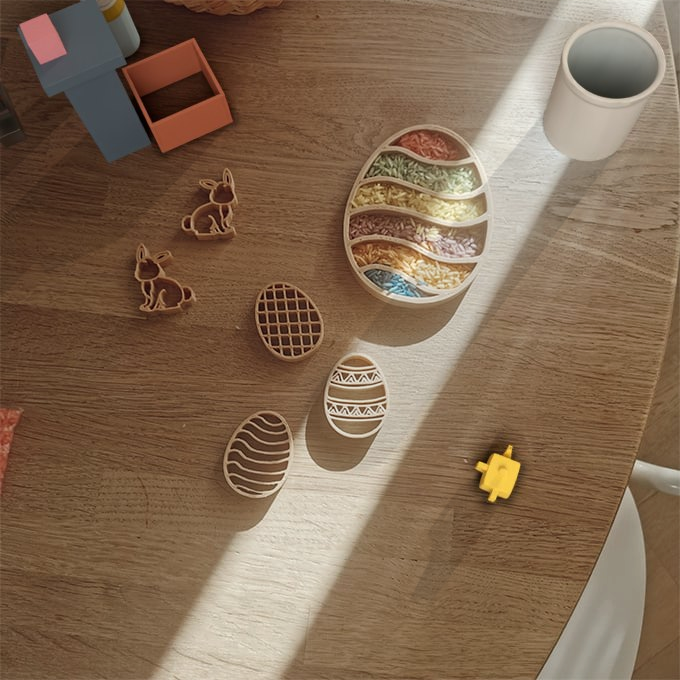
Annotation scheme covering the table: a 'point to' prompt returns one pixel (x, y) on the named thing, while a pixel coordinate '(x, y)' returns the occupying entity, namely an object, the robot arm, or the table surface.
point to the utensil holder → (602, 88)
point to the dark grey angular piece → (9, 121)
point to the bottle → (120, 25)
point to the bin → (167, 71)
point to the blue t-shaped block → (92, 79)
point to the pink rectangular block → (43, 39)
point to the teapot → (498, 474)
